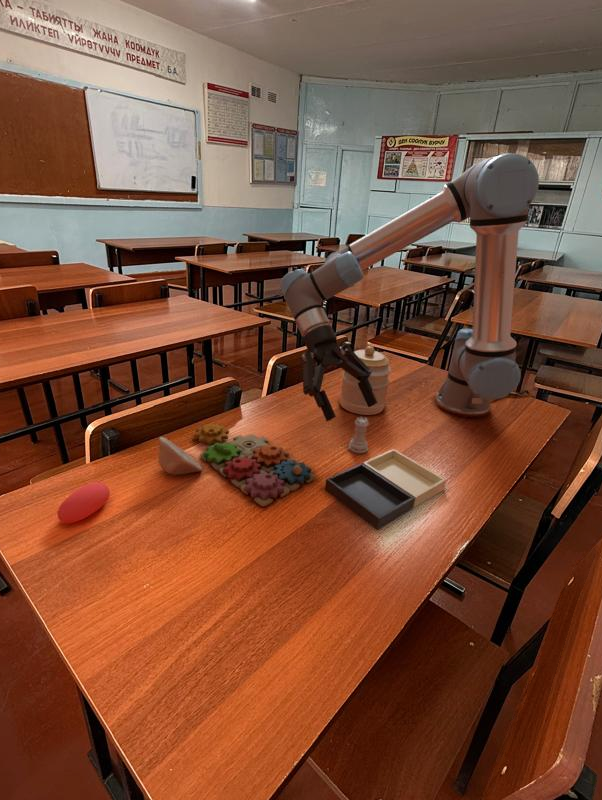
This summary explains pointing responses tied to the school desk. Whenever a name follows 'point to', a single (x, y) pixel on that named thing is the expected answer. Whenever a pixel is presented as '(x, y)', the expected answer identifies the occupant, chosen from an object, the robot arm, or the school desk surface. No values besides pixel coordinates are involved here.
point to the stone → (175, 459)
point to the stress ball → (83, 502)
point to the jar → (378, 379)
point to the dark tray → (369, 495)
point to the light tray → (407, 475)
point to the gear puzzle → (253, 464)
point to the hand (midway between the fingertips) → (353, 412)
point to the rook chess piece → (359, 436)
